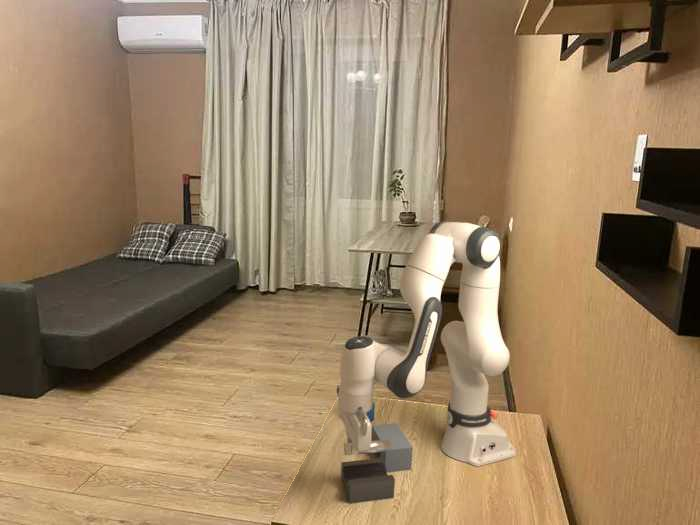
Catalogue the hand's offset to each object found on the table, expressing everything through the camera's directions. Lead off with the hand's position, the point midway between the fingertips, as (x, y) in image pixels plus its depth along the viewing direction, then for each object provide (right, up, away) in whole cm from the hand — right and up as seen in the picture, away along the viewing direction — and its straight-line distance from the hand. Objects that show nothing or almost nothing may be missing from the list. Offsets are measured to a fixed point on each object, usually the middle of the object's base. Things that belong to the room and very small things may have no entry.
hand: (352, 448), depth 137 cm
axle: (+4, -2, +1) cm, 4 cm away
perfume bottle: (+3, -5, +39) cm, 39 cm away
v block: (+4, -12, +4) cm, 13 cm away
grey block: (+11, -9, +19) cm, 24 cm away
